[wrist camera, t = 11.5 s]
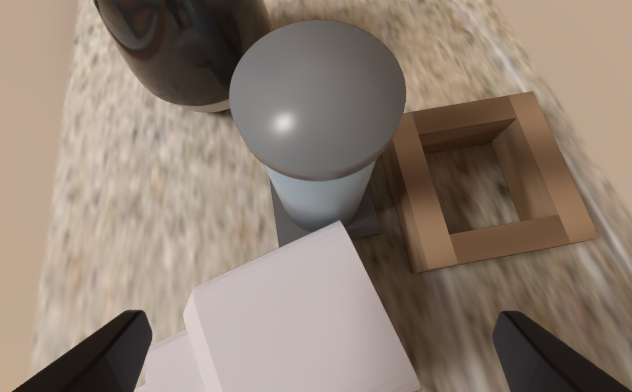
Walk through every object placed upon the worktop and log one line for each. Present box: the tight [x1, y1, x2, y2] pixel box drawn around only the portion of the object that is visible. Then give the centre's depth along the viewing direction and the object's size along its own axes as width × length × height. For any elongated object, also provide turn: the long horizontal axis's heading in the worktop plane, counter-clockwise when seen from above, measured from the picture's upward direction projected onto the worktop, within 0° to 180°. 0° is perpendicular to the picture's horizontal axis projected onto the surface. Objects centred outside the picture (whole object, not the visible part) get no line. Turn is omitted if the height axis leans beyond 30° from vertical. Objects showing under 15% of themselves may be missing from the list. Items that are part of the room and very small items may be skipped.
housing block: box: [381, 91, 599, 274], centre depth 21 cm, size 10×10×4 cm
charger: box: [134, 220, 421, 392], centre depth 18 cm, size 5×9×15 cm
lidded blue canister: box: [229, 20, 406, 232], centre depth 17 cm, size 6×6×12 cm
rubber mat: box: [269, 177, 381, 248], centre depth 23 cm, size 7×7×1 cm
